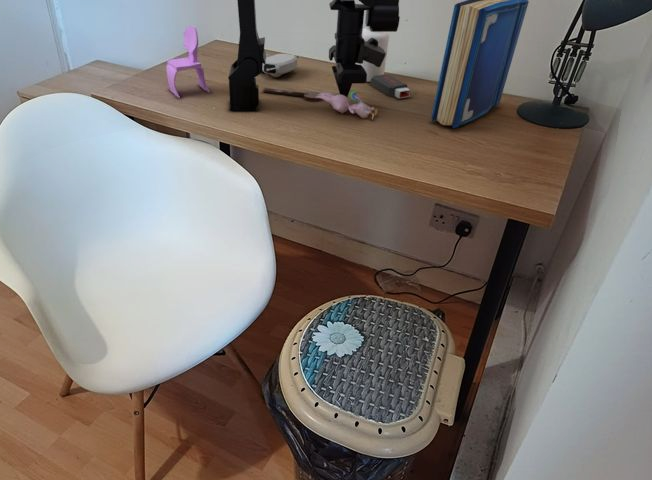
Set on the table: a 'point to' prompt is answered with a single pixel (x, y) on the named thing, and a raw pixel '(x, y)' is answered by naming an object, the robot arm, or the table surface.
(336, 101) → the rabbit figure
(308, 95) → the spoon
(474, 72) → the book
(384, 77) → the usb drive
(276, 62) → the robot toy
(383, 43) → the pill bottle
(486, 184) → the table surface
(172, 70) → the toy chair
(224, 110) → the table surface
